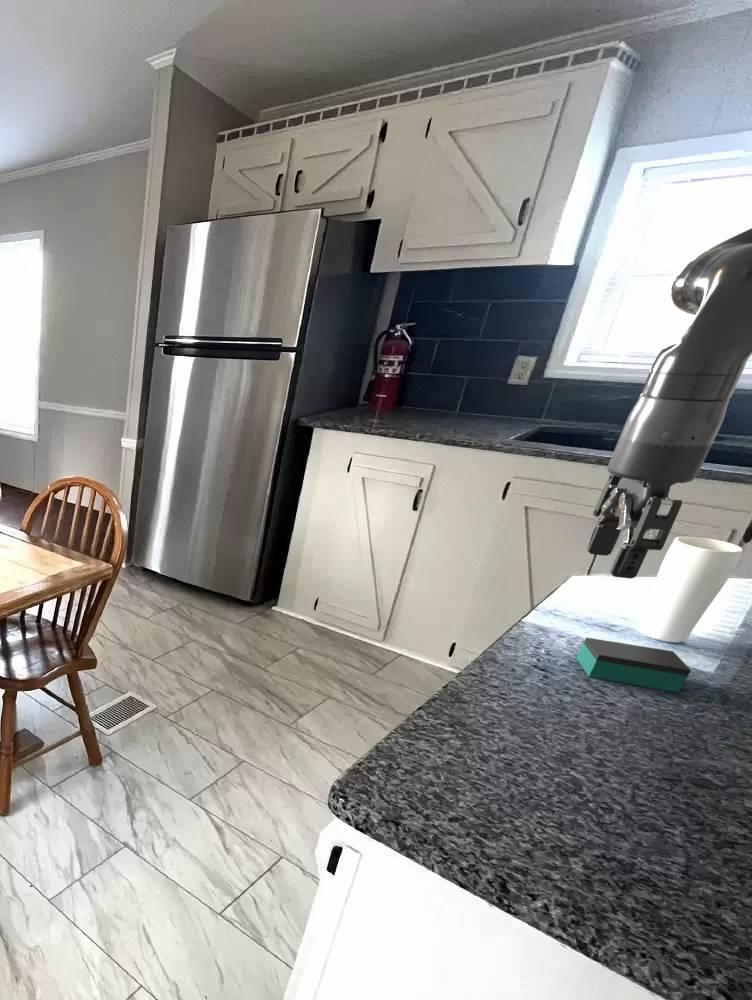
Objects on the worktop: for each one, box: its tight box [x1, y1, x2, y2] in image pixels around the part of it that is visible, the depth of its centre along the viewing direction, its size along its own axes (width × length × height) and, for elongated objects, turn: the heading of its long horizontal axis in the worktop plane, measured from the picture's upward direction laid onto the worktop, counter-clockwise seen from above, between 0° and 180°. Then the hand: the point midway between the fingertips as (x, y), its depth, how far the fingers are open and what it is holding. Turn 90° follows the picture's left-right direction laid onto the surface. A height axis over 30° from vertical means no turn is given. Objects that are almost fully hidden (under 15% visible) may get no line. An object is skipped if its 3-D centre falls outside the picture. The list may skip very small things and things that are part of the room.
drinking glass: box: [637, 535, 744, 644], centre depth 93 cm, size 7×7×15 cm
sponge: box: [576, 637, 692, 693], centre depth 86 cm, size 9×6×4 cm, turn 62°
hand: (609, 564), depth 81 cm, fingers open, 8 cm apart
